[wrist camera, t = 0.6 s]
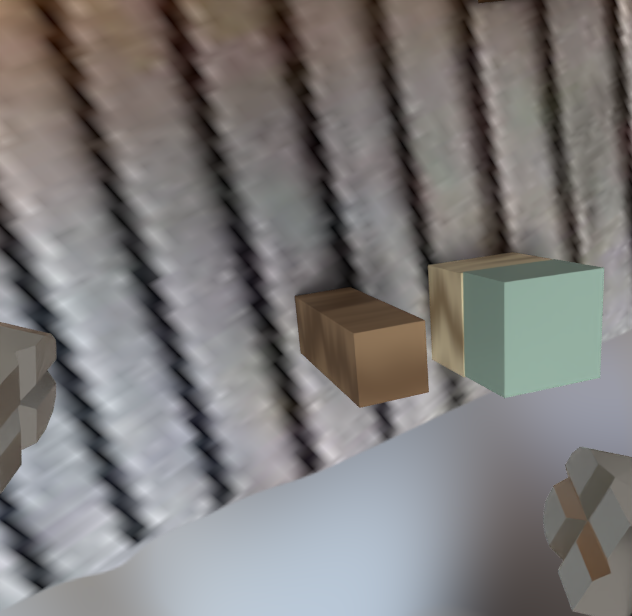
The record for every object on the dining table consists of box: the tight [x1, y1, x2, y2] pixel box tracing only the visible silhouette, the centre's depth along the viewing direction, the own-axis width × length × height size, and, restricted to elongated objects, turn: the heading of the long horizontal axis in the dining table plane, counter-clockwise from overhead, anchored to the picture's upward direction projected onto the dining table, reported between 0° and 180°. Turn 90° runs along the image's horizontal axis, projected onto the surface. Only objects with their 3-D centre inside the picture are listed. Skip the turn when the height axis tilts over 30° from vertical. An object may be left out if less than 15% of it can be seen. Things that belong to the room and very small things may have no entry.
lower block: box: [428, 252, 552, 377], centre depth 47 cm, size 8×8×5 cm
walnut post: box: [295, 287, 429, 408], centre depth 40 cm, size 4×4×12 cm
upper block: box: [463, 259, 604, 398], centre depth 43 cm, size 8×8×5 cm
